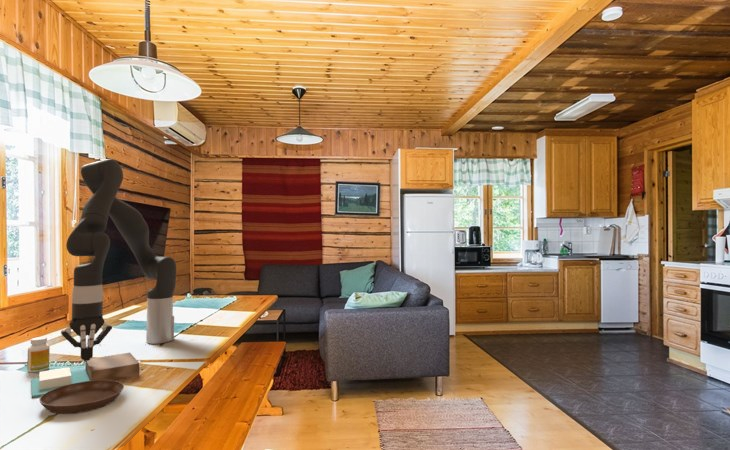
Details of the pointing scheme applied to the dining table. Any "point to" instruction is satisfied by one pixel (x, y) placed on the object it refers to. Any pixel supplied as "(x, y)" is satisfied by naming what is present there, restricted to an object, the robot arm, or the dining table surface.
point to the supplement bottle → (38, 355)
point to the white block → (54, 378)
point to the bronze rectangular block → (112, 367)
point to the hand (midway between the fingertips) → (86, 360)
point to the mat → (75, 378)
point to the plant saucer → (81, 396)
